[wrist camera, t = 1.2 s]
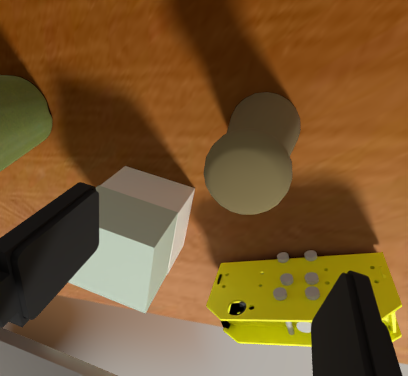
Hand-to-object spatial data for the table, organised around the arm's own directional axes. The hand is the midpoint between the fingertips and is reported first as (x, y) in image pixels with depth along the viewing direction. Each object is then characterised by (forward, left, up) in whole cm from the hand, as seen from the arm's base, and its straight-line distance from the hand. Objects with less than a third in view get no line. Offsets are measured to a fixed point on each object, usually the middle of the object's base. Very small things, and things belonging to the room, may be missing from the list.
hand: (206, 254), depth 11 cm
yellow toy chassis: (-8, +14, -17) cm, 24 cm away
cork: (0, 0, -17) cm, 17 cm away
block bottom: (+9, +12, -17) cm, 23 cm away
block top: (+9, +12, -12) cm, 19 cm away
